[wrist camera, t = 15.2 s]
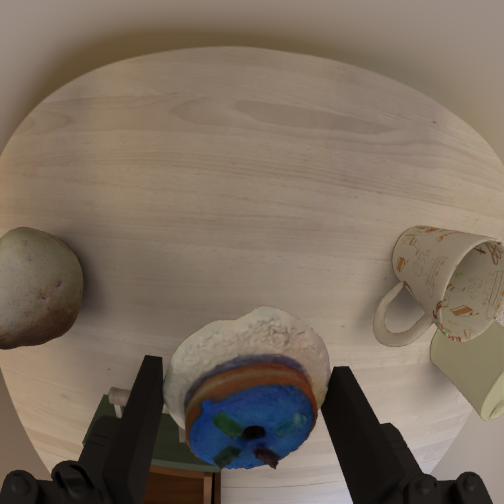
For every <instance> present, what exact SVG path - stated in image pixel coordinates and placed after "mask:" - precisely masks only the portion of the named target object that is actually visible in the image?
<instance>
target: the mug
mask: <svg viewBox="0 0 504 504" xmlns="http://www.w3.org/2000/svg"><path fill="white" fill-rule="evenodd" d="M392 265H393V269H394V272H395V274H396V276H397V277H398V279H399V280H400V281H401V282H400V283H398V284H397V285H396V286H395V287H393V288H392V289H391V290H390V291H389V292H388V293H387V294H386V295H385V296H384V297H383V298H382V300H381V301H380V303H379V305H378V307H377V310H376V313H375V316H374V321H373V332H374V335H375V338H376V339H377V340H378V341H379V342H380V343H381V344H383V345H385V346H388V347H401V346H406V345H408V344H410V343H412V342H413V341H415V340H416V339H417V338H418V337H420V336H421V335H422V334H423V333H424V332H425V331H426V330H427V329H428V328H429V327H430V326H431V325H432V324H433V323H435V324H436V326H437V327H438V328H439V329H440V331H441V332H442V333H443V334H444V335H445V336H446V337H447V338H449V339H450V340H453V341H456V342H465V341H468V340H471V339H473V338H475V337H477V336H479V335H480V334H481V333H483V332H484V331H485V330H486V329H487V328H488V327H489V326H490V325H491V324H492V323H493V322H494V320H495V319H496V318H497V316H498V315H499V313H500V311H501V310H502V308H503V306H504V245H503V244H502V243H501V242H500V241H498V240H496V239H493V238H490V237H486V236H481V235H475V234H469V233H464V232H458V231H452V230H446V229H440V228H434V227H427V226H416V227H413V228H410V229H409V230H407V231H406V232H405V233H404V234H403V235H402V236H401V237H400V238H399V240H398V241H397V243H396V245H395V248H394V251H393V256H392ZM404 286H405V287H406V288H407V290H408V291H409V292H410V293H411V294H412V296H413V297H414V298H415V299H416V300H417V302H418V303H419V304H420V305H421V307H422V308H423V309H424V310H425V312H426V313H425V314H424V315H423V316H422V317H421V318H420V319H419V320H418V321H417V322H416V324H415V325H414V326H412V327H411V328H410V329H409V330H407V331H405V332H400V333H392V332H389V331H388V330H387V329H386V326H385V314H386V309H387V307H388V305H389V304H390V302H391V301H392V300H393V299H394V298H395V297H396V296H397V295H398V294H399V293H400V292H401V290H402V289H403V288H404Z"/></svg>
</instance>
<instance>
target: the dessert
mask: <svg viewBox="0 0 504 504" xmlns="http://www.w3.org/2000/svg"><path fill="white" fill-rule="evenodd" d="M330 377H331V371H330V363H329V355H328V352H327V349H326V347H325V344H324V342H323V340H322V339H321V337H320V336H319V335H318V334H316V333H315V331H314V330H313V328H311V327H309V325H307V324H305V323H303V322H302V321H300V319H297V318H296V317H294V316H293V315H291V314H289V313H287V312H285V311H283V310H281V309H278V308H275V307H272V306H260V307H258V308H256V309H255V310H253V311H252V312H250V313H248V314H246V315H245V316H243V317H241V318H239V319H237V320H235V321H233V320H228V321H226V320H221V321H219V320H216V321H214V322H210V323H209V324H207V325H206V326H204V327H202V328H201V329H200V330H198V331H197V332H195V333H194V334H192V335H190V336H189V337H188V338H187V339H186V340H184V341H183V342H182V344H180V345H179V347H178V348H177V350H176V351H175V352H174V354H173V356H172V358H171V361H170V364H169V367H168V370H167V373H166V376H165V379H164V381H163V384H162V396H163V400H164V403H165V405H166V407H167V409H168V411H169V413H170V415H171V416H172V418H173V419H174V420H175V421H176V423H177V424H178V425H179V426H180V427H181V428H183V429H184V430H185V436H186V443H187V445H189V448H190V449H191V452H192V453H194V454H195V456H197V457H200V459H201V460H204V461H205V462H208V463H210V464H211V465H212V464H213V465H215V466H218V467H219V468H220V469H223V467H225V468H228V469H232V468H234V469H237V468H245V469H250V468H253V467H256V466H262V465H267V464H268V465H269V466H270V467H271V468H274V469H276V466H277V464H278V462H277V461H279V460H281V459H283V458H284V457H285V456H287V455H288V454H289V453H290V452H292V451H295V450H297V449H298V447H299V446H300V445H302V443H303V442H304V441H305V440H307V438H308V437H309V434H310V432H311V431H312V430H313V428H314V426H315V424H316V419H317V417H318V412H317V411H318V410H319V408H320V407H321V405H322V404H323V402H324V401H325V396H326V393H327V391H328V386H329V381H330Z"/></svg>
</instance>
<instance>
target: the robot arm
mask: <svg viewBox="0 0 504 504" xmlns="http://www.w3.org/2000/svg"><path fill="white" fill-rule="evenodd" d="M162 384H163V363H162V357H157V356H150V355H145V357H144V360H143V362H142V365H141V367H140V370H139V372H138V375H137V377H136V380H135V383H134V385H133V388H132V390H131V393H130V396H129V398H128V401H127V403H126V406H125V409H124V412H123V414H122V417H121V418H118V417H113V416H109V415H104V414H103V415H102V416H101V417H100V418H99V419H98V420H96V421H95V422H94V425H93V427H92V429H91V431H90V434H89V436H88V438H87V442H86V443H85V445H84V448H83V450H82V453H81V455H80V457H79V460H78V461H72V460H68V461H62V462H60V463H58V464H57V465H56V466H55V467H54V468H53V470H52V473H51V478H52V479H53V481H47V480H36V479H35V478H34V477H33V476H32V474H30V473H28V472H26V471H23V470H15V471H12V472H10V473H9V474H7V476H6V478H5V480H4V482H3V486H2V489H1V492H0V504H143V501H144V495H145V490H146V485H147V480H148V475H149V470H150V465H151V461H152V456H153V451H154V447H155V442H156V437H157V433H158V428H159V424H160V420H161V415H162V411H163V407H164V400H163V396H162ZM320 409H321V412H322V415H323V417H324V420H325V423H326V426H327V429H328V432H329V435H330V437H331V440H332V443H333V446H334V449H335V452H336V455H337V458H338V460H339V463H340V466H341V469H342V472H343V475H344V478H345V481H346V484H347V487H348V490H349V492H350V495H351V498H352V501H353V504H493V503H492V500H491V498H490V496H489V494H488V491H487V489H486V487H485V485H484V483H483V481H482V479H481V478H480V476H479V475H477V474H476V473H474V472H464V473H462V474H460V476H459V477H458V478H457V479H456V480H446V481H437V479H436V478H435V477H433V476H431V475H429V474H424V473H423V472H422V471H421V469H420V467H419V465H418V463H417V462H416V460H415V458H414V456H413V454H412V453H411V451H410V449H409V447H407V444H406V442H405V440H403V437H402V435H401V433H400V432H399V430H398V429H397V428H396V427H395V426H393V425H392V424H391V423H384V424H380V423H379V421H378V419H377V417H376V415H375V414H374V412H373V410H372V408H371V406H370V404H369V402H368V401H367V399H366V397H365V395H364V393H363V391H362V390H361V388H360V386H359V384H358V382H357V380H356V379H355V377H354V375H353V373H352V371H351V369H350V368H349V366H340V367H334V368H333V371H332V374H331V378H330V381H329V386H328V391H327V393H326V396H325V401H324V402H323V404H322V405H321V408H320Z"/></svg>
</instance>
